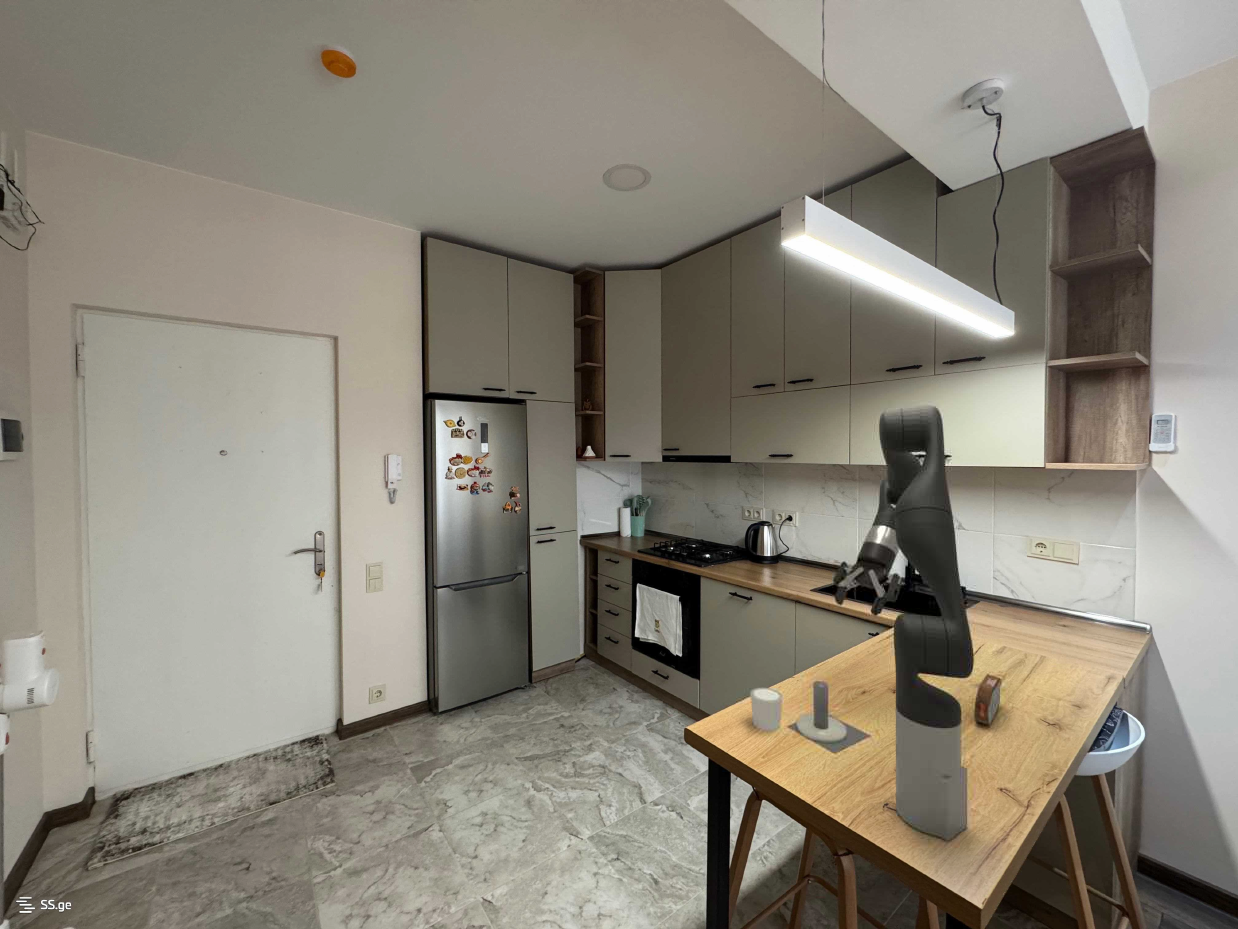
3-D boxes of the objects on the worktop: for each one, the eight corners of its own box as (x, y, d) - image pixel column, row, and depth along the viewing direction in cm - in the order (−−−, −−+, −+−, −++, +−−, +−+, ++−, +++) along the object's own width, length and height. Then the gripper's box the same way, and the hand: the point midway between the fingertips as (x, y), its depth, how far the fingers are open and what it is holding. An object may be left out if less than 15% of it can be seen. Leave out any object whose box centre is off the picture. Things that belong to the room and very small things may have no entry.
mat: (871, 737, 107) (871, 735, 107) (834, 755, 101) (834, 753, 101) (822, 712, 117) (822, 711, 117) (786, 727, 111) (786, 726, 111)
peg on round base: (856, 734, 108) (856, 687, 108) (825, 748, 103) (825, 700, 102) (816, 713, 116) (816, 670, 116) (786, 726, 111) (786, 681, 111)
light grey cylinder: (761, 736, 108) (760, 703, 108) (744, 720, 115) (744, 689, 115) (789, 731, 110) (789, 699, 110) (771, 715, 116) (771, 685, 116)
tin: (986, 702, 121) (986, 667, 121) (1003, 707, 119) (1003, 671, 119) (972, 727, 111) (972, 689, 110) (990, 732, 108) (990, 693, 108)
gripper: (845, 535, 126) (820, 593, 121) (905, 546, 115) (880, 610, 109) (857, 550, 130) (833, 607, 125) (916, 562, 118) (892, 625, 113)
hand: (855, 608), depth 117 cm, fingers open, 8 cm apart
